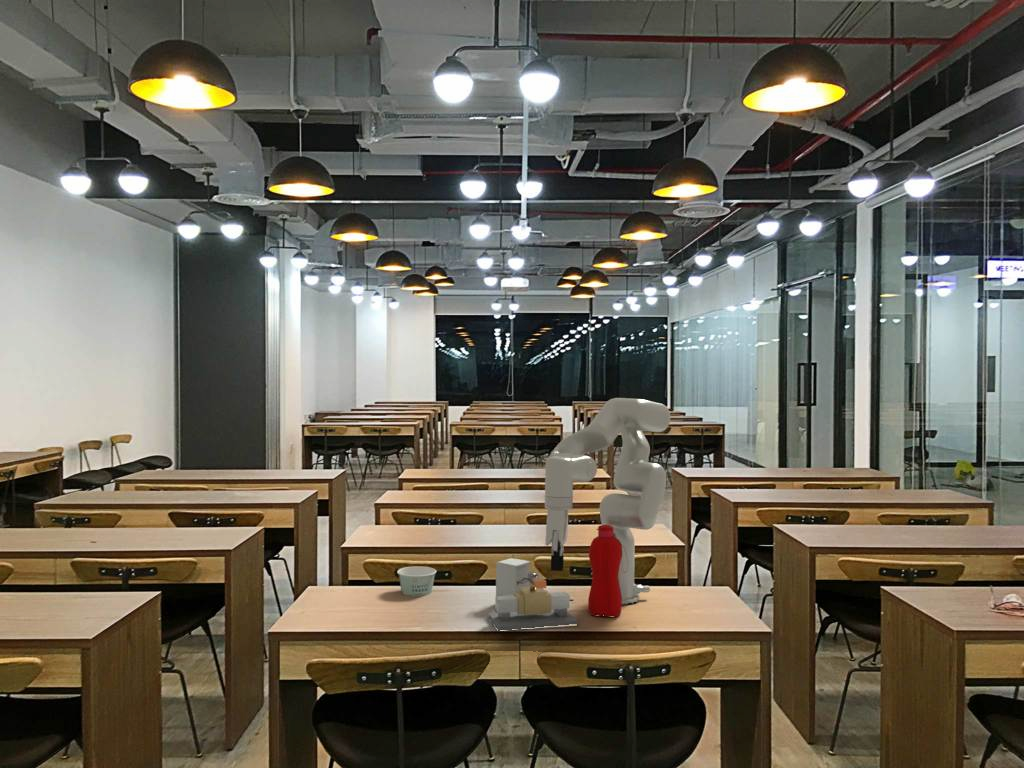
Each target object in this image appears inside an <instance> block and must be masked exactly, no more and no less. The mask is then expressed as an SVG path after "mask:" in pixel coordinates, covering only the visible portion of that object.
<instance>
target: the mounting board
mask: <svg viewBox="0 0 1024 768" xmlns="http://www.w3.org/2000/svg"><path fill="white" fill-rule="evenodd" d="M487 614H488V615H487V618H489V619H490V620H491V621H490V620H489V619H488V620H489V621H490V623H491V622H492V623H493V624H494V625H495V627H496V628H497V629H498V631H500V630H512V629H521V628H535V627H544V626H558V625H569V624H578V625H579V623H578V622H579V621H578V619H577V618H575V617H574V615H572V613H570V611H568V610H567V617H558V616H557V615H556V614H555V613H554V609H553V610H551V612H550V613H546V614H536V615H524V614H521V615H518V614H517V612H510V621H501V620H500V619H499V617H498V612H497V611H496V612H488V613H487ZM492 623H491V624H492ZM493 624H492V625H493ZM494 625H493V626H494ZM495 627H494V628H495ZM496 628H495V629H496ZM497 629H496V630H497ZM498 631H497V632H498Z"/></svg>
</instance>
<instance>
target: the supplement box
mask: <svg viewBox="0 0 1024 768" xmlns="http://www.w3.org/2000/svg"><path fill="white" fill-rule="evenodd" d="M495 566H496V567H495V569H496V570H495V574H496V575H495V596H506V595H514V592H519V587H530V581H528V573H530V571H531V561H529V560H525V559H518V558H513V557H512V558H507V559H503V560H500V561H497V562H496V564H495Z"/></svg>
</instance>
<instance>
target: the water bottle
mask: <svg viewBox="0 0 1024 768" xmlns="http://www.w3.org/2000/svg"><path fill="white" fill-rule="evenodd" d="M596 530H597V531H598V533H597V535H598V536H596V537H593V539H592V541H591V543H590V545H589V549H588V558H589V563H590V568H591V572H592V573H591V574H592V575H591V576H592V581H591V585H590V589H589V593H588V594H589V595H588V598H587V601H588V603H587V609H588V613H589V614H590V615H591V614H592V615H591V616H593V615H599V616H598V617H601V616H603V615H604V616H616V617H618V616H620V615H621V612H622V607H623V604H622V596H621V591H620V585H619V580H618V573H619V567H620V562H621V558H622V546H623V545H622V544H621V543H620V541H619V540H618V539H617V538H616V536H615V535H616V534H615V533H614V528H613V527H612V526H609V525H602V524H600V525H598V528H596ZM624 550H625V548H624ZM625 553H626V551H625ZM626 557H627V555H626ZM627 562H628V560H627ZM622 571H623V570H622ZM627 571H628V570H627ZM623 572H624V571H623ZM624 573H626V572H624Z"/></svg>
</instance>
